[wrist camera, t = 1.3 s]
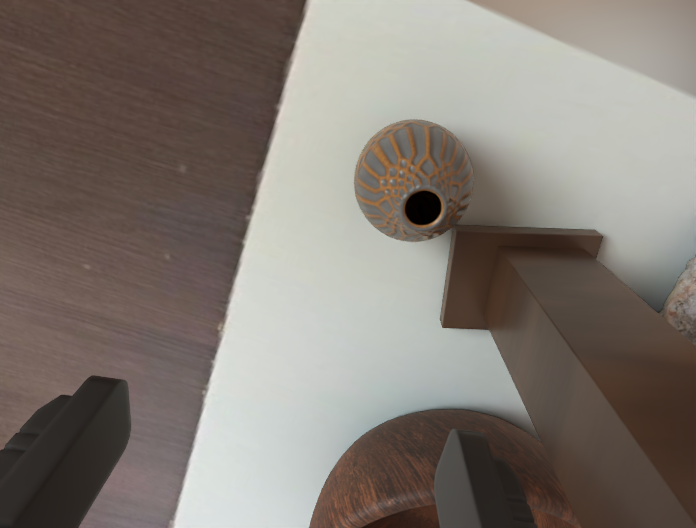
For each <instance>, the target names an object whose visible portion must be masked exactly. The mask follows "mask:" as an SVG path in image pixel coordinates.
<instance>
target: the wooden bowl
mask: <svg viewBox="0 0 696 528" xmlns="http://www.w3.org/2000/svg"><path fill="white" fill-rule="evenodd" d="M453 428H455V429H462V430H469V431H476V432H482V433H484V434H485V436H486V438H487V441H488V444H489V447H490V450H491V453H492V456H493V457H499V458H504V459H505V460H506V462H507V463H508V464H509V465H510V467H511V468H512V469H513V471H514V472H515V473H516V475H517V476H518V477H519V479H520V481H521V484H522V487H523V490H524V492H525V495H526V498H527V504H528V505H529V506H530V508H531V511H532V514H533V516H534V523H536V524H537V527H538V528H581V526H580V524H579V522H578V519H577V517H576V515H575V513H574V511H573V509H572V506H571V504H570V502H569V500H568V498H567V496H566V494H565V491H564V489H563V487H562V485H561V483H560V481H559V479H558V476H557V474H556V472H555V470H554V468H553V466H552V463H551V461H550V459H549V457H548V455H547V453H546V451H545V448H544V446H543V444H542V443H540V442H539V441H538V440H536V439H535V438H534V437H532V436H531V435H529V434H528V433H526V432H525V431H523V430H521V429H519V428H518V427H516V426H514V425H512V424H510V423H508V422H506V421H504V420H502V419H499V418H496V417H493V416H491V415H487V414H483V413H479V412H473V411H467V410H456V409H440V410H428V411H421V412H416V413H411V414H407V415H404V416H400V417H397V418H395V419H392V420H389V421H387V422H385V423H383V424H380V425H378V426H377V427H375V428H373V429H371V430H370V431H368V432H367V433H366V434H364V435H363V436H361V437H360V438H359V439H358V440H357V441H356V442H354V444H353V445H352V446H351V447H350V448H349V449H348V450H347V451H346V452H345V453H344V454H343V455H342V457H341V458H340V459H339V461H338V462H337V463H336V465H335V466H334V468H333V469H332V471H331V473H330V474H329V476H328V478H327V480H326V482H325V484H324V486H323V488H322V490H321V493H320V495H319V498H318V501H317V503H316V506H315V509H314V512H313V515H312V519H311V522H310V526H309V528H440V525H439V519H438V513H437V507H436V501H435V493H434V480H435V473H436V469H437V466H438V463H439V460H440V457H441V455H442V452H443V449H444V446H445V444H446V441H447V438H448V435H449V433H450V431H451V430H452V429H453Z"/></svg>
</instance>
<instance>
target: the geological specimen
mask: <svg viewBox="0 0 696 528" xmlns="http://www.w3.org/2000/svg"><path fill="white" fill-rule="evenodd" d="M659 314H660V315H661V316H662V317H663V318H664V319H665V320H667V321H668V322H669V323H670V324H671V325H672V326H673V327H675V328H676V329H677V330H678V331H679V332H680V333H681V334H683V335H684V336H685V337H686V338H687V339H688V340H690V341H691V342H692V343H693V344H694V345H695V346H696V256H695V257H694V258H692V259H691V260H689V262H688V263H687V265H686V269H685V271H684V272H683V273H681V276H680V277H678V281H677V283H676V285H675V287H674V289H673V291H672V292H671V294H670V295H669V296H668V298H667V300H666V302H665V304H664V306H663V309H662V311H660V312H659Z"/></svg>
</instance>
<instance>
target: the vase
mask: <svg viewBox="0 0 696 528" xmlns="http://www.w3.org/2000/svg"><path fill="white" fill-rule="evenodd" d="M354 185H355V194H356V198H357V201H358V204H359V206H360V208H361V210H362V212H363V214H364V215H365V217H366V218H367V219H368V221H369V222H370V223H371V224H372V225H373V226H374V227H375V228H377V229H378V230H379V231H381V232H382V233H384V234H385V235H387V236H389V237H392V238H394V239H398V240H401V241H408V242H418V241H425V240H429V239H432V238H435V237H437V236H440V235H441V234H443V233H445V232H446V231H448V230H449V229H450V228H452V227H453V226H454V225H455V224H456V223H457V222H458V221H459V219H460V218H461V217H462V215H463V214H464V212H465V210H466V209H467V206H468V204H469V202H470V199H471V195H472V190H473V169H472V165H471V161H470V158H469V156H468V153H467V152H466V150H465V148H464V146H463V145H462V144H461V142H460V141H459V140H458V139H457V138H456V137H455V136H454V135H453V134H452V133H451V132H449V131H448V130H446V129H445V128H443V127H441V126H440V125H437V124H435V123H432V122H428V121H424V120H404V121H400V122H396V123H393V124H391V125H389V126H387V127H385V128H383V129H382V130H380V131H379V132H378V133H376V134H375V135H374V136H373V137H372V138H371V139H370V140H369V142H368V143H367V144H366V146H365V147H364V149H363V150H362V152H361V154H360V157H359V159H358V162H357V165H356V170H355V178H354Z"/></svg>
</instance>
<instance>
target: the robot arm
mask: <svg viewBox="0 0 696 528" xmlns="http://www.w3.org/2000/svg"><path fill="white" fill-rule="evenodd" d="M130 432H131V416H130V403H129V391H128V384H127V381H126V380H121V379H114V378H108V377H101V376H91V377H89V378H88V379H87V380H86V381H85V382H84V383H83V384H82V385H81V387H80V388H79V389H78V390H77V391H76V392H75V394H74V395H73V396H69V395H60V396H59V397H57V398H56V399H54V400H52V401H51V402H49V403H48V404H46V405H44V406H43V407H41V408H40V409H38V410H37V411H36V412H35V413H34V414H33V415H32V417H31V418H30V419H29V420H28V421H27V422H26V423H25V424H24V425H23V426H22V427H21V429H20V432H19V433H16V434H15V435H14V436H13V437H12V438H11V439H10V441H9V442H8V443H7V444H6V445H5V448H4V449H3V450H0V528H78V527H79V525H80V524H81V522H82V520H83V519H84V517H85V515H86V514H87V512H88V510H89V509H90V507H91V505H92V504H93V502H94V500H95V499H96V497H97V495H98V494H99V492H100V490H101V489H102V487H103V485H104V484H105V482H106V481H107V479H108V477H109V476H110V474H111V472H112V471H113V469H114V467H115V466H116V464H117V462H118V461H119V459H120V457H121V456H122V454H123V452H124V450H125V448H126V446H127V443H128V440H129V437H130ZM434 493H435V501H436V507H437V513H438V519H439V525H440V528H538V527H537V524H536V523H534V516H533V514H532V511H531V508H530V506H529V505H528V504H527V498H526V495H525V492H524V490H523V487H522V484H521V481H520V479H519V477H518V476H517V475H516V473H515V472H514V471H513V469H512V468H511V467H510V465H509V464H508V463H507V462H506V460H505V459H504V458H499V457H493V456H492V453H491V450H490V447H489V444H488V441H487V438H486V436H485V434H484V433H482V432H476V431H469V430H462V429H455V428H453V429H452V430H451V431H450V433H449V435H448V438H447V441H446V444H445V446H444V449H443V452H442V455H441V457H440V460H439V463H438V466H437V469H436V473H435V480H434Z"/></svg>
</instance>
